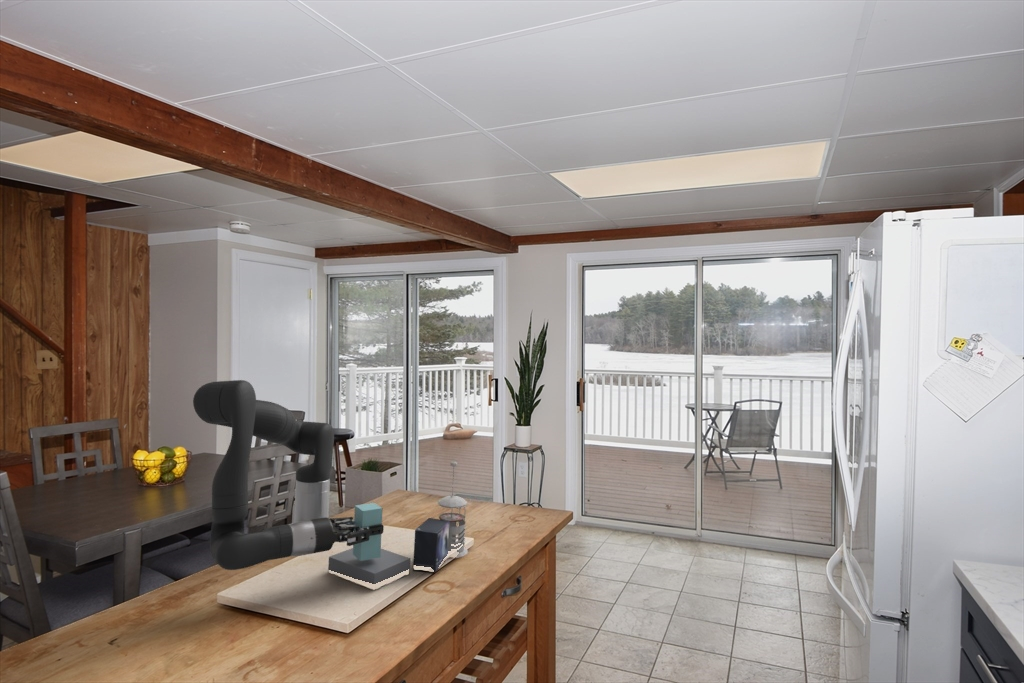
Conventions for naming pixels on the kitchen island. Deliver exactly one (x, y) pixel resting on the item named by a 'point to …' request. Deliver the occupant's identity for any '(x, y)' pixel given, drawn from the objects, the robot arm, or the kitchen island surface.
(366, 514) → the teal block
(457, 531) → the french press
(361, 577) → the grey flat block
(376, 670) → the kitchen island surface
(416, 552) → the small box
